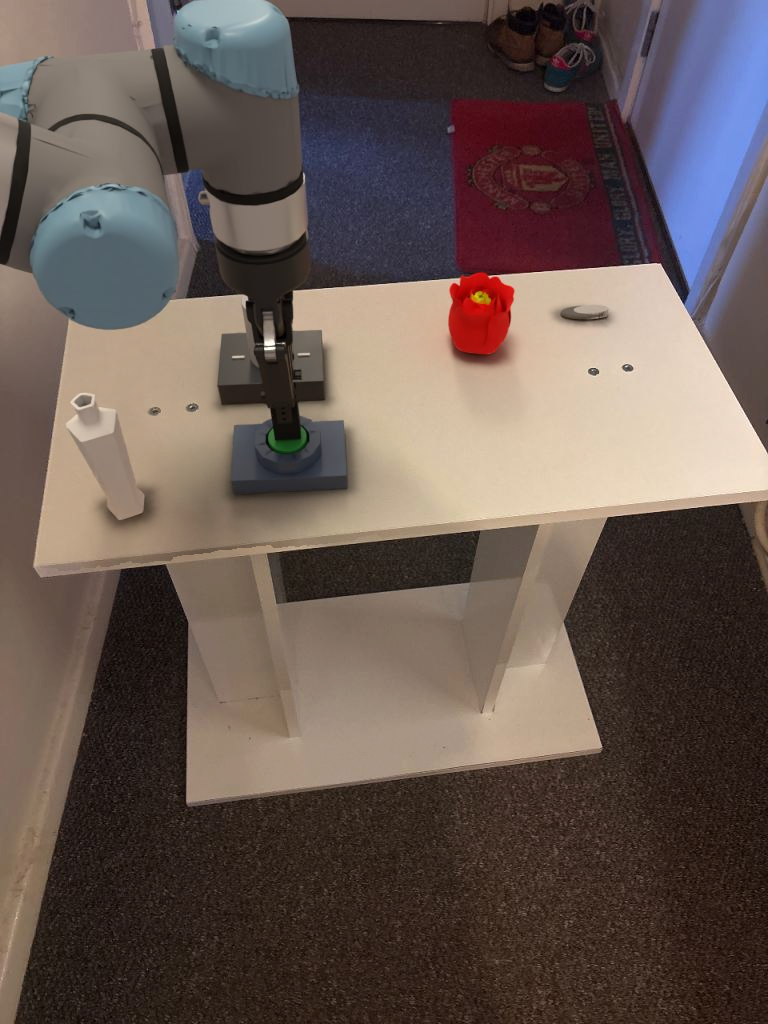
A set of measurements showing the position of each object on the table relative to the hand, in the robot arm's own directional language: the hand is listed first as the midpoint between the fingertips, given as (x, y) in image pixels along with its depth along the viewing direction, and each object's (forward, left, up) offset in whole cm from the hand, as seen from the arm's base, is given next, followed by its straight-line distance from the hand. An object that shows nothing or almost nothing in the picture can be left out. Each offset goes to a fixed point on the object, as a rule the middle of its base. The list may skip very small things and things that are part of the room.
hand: (288, 434), depth 78 cm
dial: (-2, +14, -1) cm, 14 cm away
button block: (0, 0, -5) cm, 5 cm away
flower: (+23, +18, -5) cm, 30 cm away
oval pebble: (+38, +23, -5) cm, 45 cm away
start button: (0, 0, -2) cm, 2 cm away
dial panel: (-2, +14, -5) cm, 15 cm away
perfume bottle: (-17, -5, -5) cm, 18 cm away
